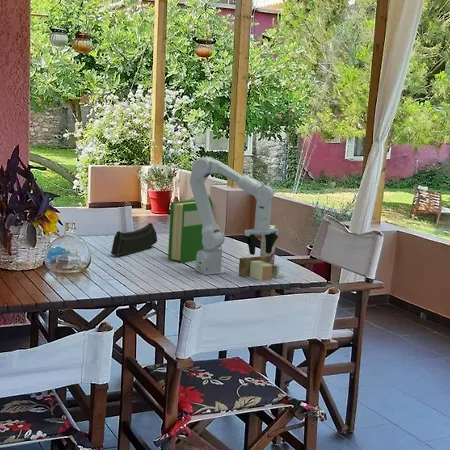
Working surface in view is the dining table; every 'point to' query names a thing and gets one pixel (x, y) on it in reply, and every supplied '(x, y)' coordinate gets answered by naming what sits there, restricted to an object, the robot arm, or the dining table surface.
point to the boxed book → (260, 270)
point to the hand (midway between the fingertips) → (260, 253)
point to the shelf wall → (245, 264)
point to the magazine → (134, 241)
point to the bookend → (276, 271)
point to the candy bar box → (263, 248)
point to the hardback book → (184, 231)
